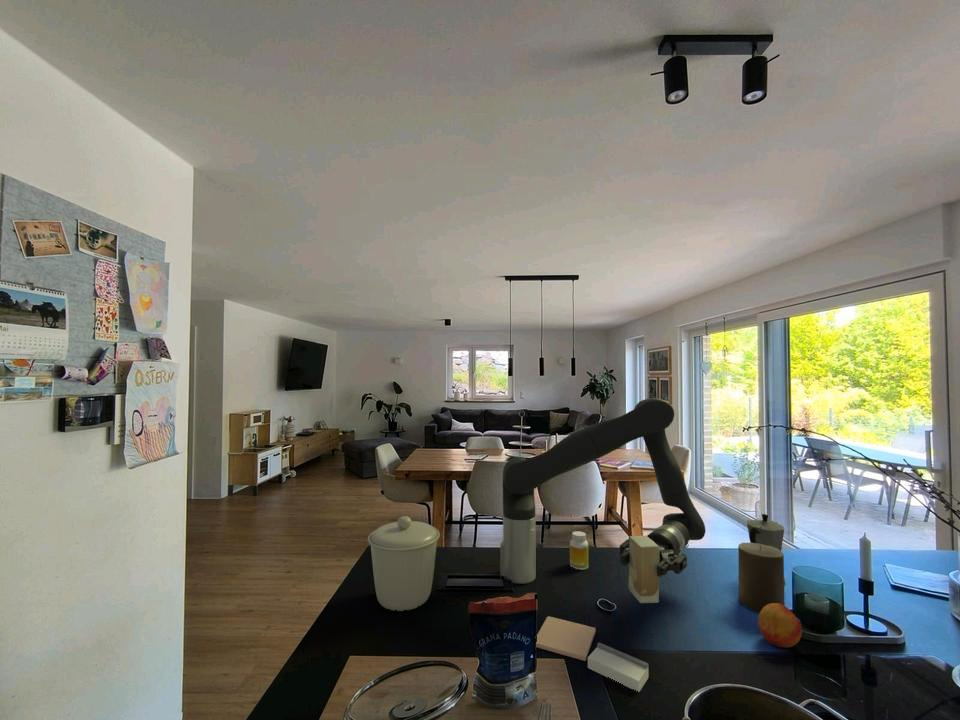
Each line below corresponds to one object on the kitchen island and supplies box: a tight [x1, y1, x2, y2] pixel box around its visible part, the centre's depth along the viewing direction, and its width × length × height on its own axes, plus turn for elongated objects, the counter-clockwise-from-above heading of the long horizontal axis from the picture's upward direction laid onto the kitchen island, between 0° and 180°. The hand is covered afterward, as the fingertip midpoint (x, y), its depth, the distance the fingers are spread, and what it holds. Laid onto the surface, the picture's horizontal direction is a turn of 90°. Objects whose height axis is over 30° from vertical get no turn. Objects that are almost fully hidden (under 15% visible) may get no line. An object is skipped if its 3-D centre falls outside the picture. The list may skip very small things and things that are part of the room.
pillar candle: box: [737, 542, 786, 614], centre depth 108 cm, size 10×10×15 cm
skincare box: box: [628, 535, 660, 604], centre depth 95 cm, size 6×4×12 cm
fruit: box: [757, 603, 803, 649], centre depth 92 cm, size 8×8×8 cm
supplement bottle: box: [569, 531, 589, 571], centre depth 129 cm, size 5×5×10 cm
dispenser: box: [587, 642, 650, 693], centre depth 83 cm, size 10×5×3 cm, turn 50°
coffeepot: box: [746, 513, 786, 585], centre depth 121 cm, size 15×9×18 cm, turn 125°
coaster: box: [535, 615, 596, 662], centre depth 93 cm, size 11×11×1 cm
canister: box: [367, 515, 441, 612], centre depth 109 cm, size 18×18×21 cm
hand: (640, 566), depth 93 cm, fingers closed on skincare box, 7 cm apart
